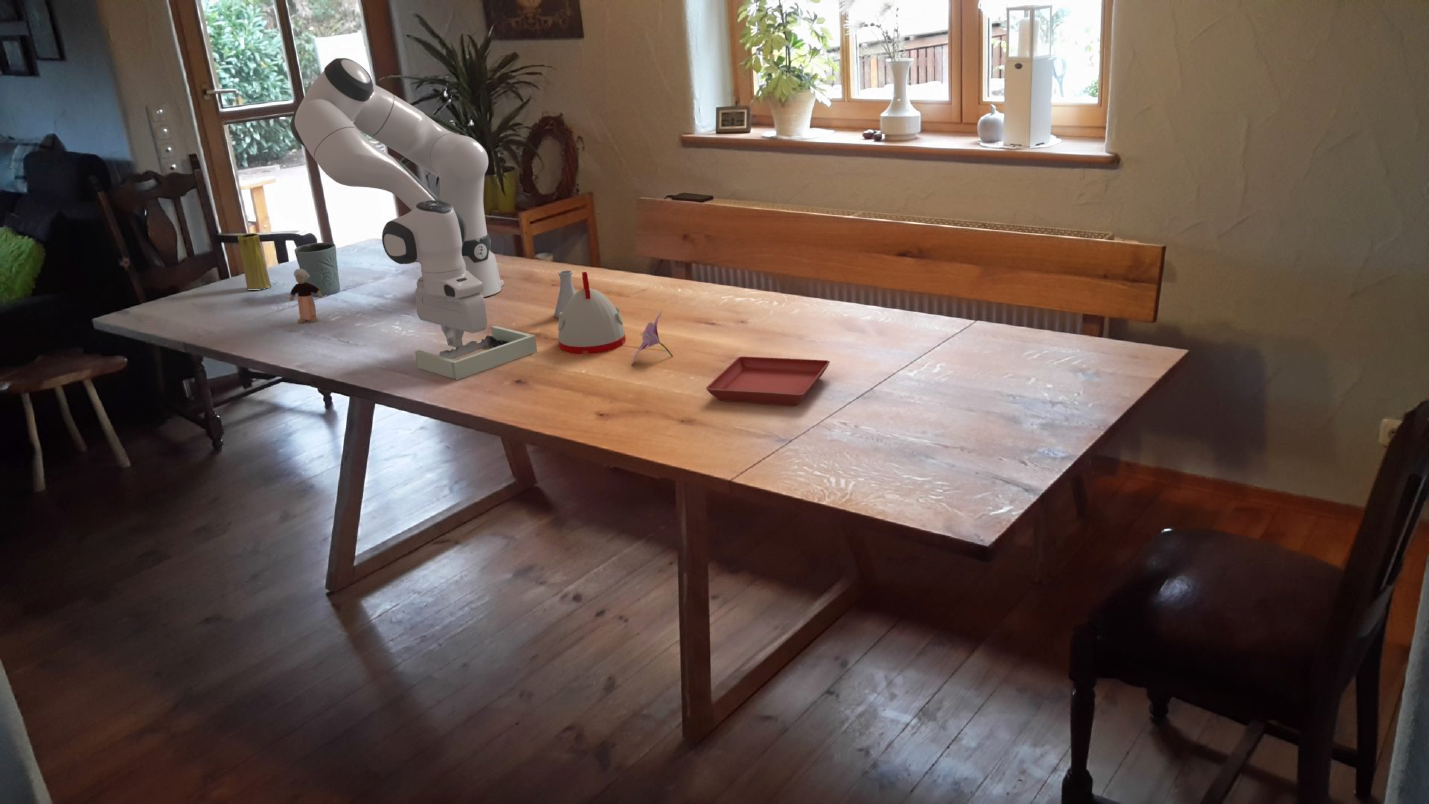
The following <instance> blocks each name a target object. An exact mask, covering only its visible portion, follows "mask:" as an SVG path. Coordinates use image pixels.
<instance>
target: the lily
mask: <svg viewBox="0 0 1429 804" xmlns="http://www.w3.org/2000/svg"><path fill="white" fill-rule="evenodd" d="M662 313H663V310H661V311H660V312H659V314H658V316H657V317H656V319H655V320H654V322H648V323H647V325H646V326H645V328H644V329H643V331H642V332H640V336H641V338H642V343H641V344H640V346H639V347H638V350H637V351H636V352H635V354H634V355H633V358H632V361H631V364H630V365H631V366H632V365H633V363H634V361H635V359H636V357H637V355H639V354H640V351H642V350H644V349H647V348H650V347H652V346H655V345H658V344H660V346H662V347H663V348H664V349H665V350H666V351H667V353H668V354H669V355H670V357H671V358H673V357H674V355H673V354H672V353H671V352H670V350H669V349H668V348H667V346H665V344H663V343H662V342H661V341H660V338H659V333H658V322H659V319H660V318H661V315H662Z"/></svg>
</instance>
